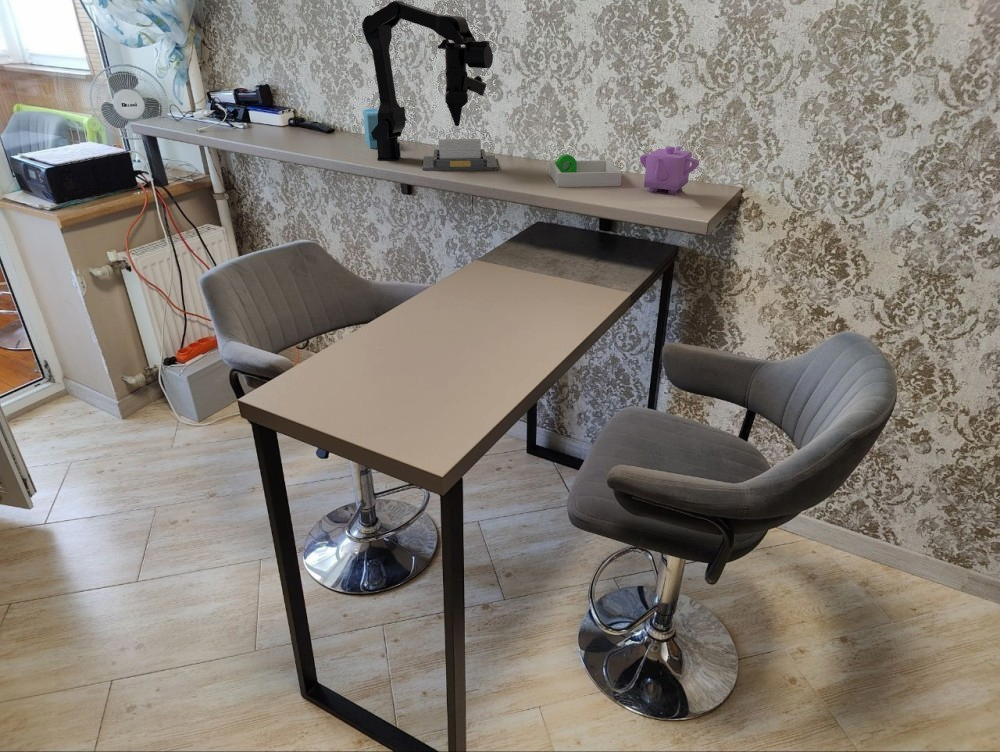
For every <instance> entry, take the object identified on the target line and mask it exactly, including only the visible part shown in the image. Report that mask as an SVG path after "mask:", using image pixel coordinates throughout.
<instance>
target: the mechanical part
mask: <svg viewBox="0 0 1000 752" xmlns="http://www.w3.org/2000/svg"><path fill="white" fill-rule="evenodd" d="M556 161H557V162H556V166H557V167H558V169H559V170H560V172H561V173H576V169H577V162H576V161H577V160H576V158H575V157H574V156H572V155H570V154H567V153H563V154H562V155H560V156H559V157H558V158H557V160H556ZM567 161H569V163H570V166H569V168H568V169H567V170H563V164H564V163H565V162H567Z"/></svg>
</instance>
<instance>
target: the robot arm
mask: <svg viewBox="0 0 1000 752" xmlns="http://www.w3.org/2000/svg"><path fill="white" fill-rule="evenodd" d="M363 18H364V19H363V20H362V23H361V29H362V32H363V35H364V38H365V41H366V42H367V43H366V44H367V45H368V46H369V48H370V50H371V52H372V58H373V65H374V72H375V78H376V84H377V90H378V97H379V105H378V106H379V107H378V109H377V110H378V124H377V126H376V127H375V128H374V129H373V131H372V132H371V135H372V137H373V139H374V140H377V148H376V149H377V160H376V161H399V159H400V158H401V154H402V153H401V142H399V138H400V137H401V136H402V133H403V130H404V128H406V122H407V121H408V119H407V117H406V108H405V106H400V104H399V103H398V101H397V96H396V89H395V81H394V76H393V67H392V62H391V55H390V54H391V53H390V46H391V43H392V38H393V35H392V34H393V33H392V31H393V29H394V27H396V26H397V25H398V23H399V22H400V21H401V20H404V21H407V22H410V23H413V24H416V25H419V26H423V27H425V28H427V29H430V30H431V31H433V32H435V33H436V34H437V35H438V36H440V37H442V38H443V40H442V41H441V43H440V44H439V45H437V49H438V50H444V54H445V55H444V56H445V84H446V85H445V86H446V87H445V94H444V95H445V97H444V101H445V103H446V105H447V108H448V110H449V114H450V116H451V117H452V121H453V123H454V126H455V127H460V122H461V118H462V117H461V116H462V111H463V107H465V105H466V104H468V103H469V94H468V92H469V91H471V92H473V93H476V94H477V95H479V96H481V97H483V96H484V94H485V91H486V87H487V83H485V81H484V82H483V79H482V77H481V76H479V75H476V76H475V77H474V78H473V77H470V76H468V71H467V66H468V67H469V68H472V69H490V68H491V67H492V65H493V62H494V53H493V49H492V47H491V46H490V41H489V40H481V41H479V40H478V41H477V40H476V38H475V37H474V35H473V34H472V31H471V30H470V26H469V23H468V22H467V19H466V18H465V17H463V16H458V15H448V14H447V15H446V14H438V13H436V12H432V11H430V10H427V9H423V8H420V7H418V6H414V5H411V4H408V3H406V2H404V1H402V0H392V1H390V2H389V3H388V4H386V5H385V6H383V7H382V8H381V9H379V10H377V11H375V12H374V13H372V14H369V15H366V16H365V17H363ZM451 41H452V42H451Z"/></svg>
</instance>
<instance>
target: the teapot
mask: <svg viewBox="0 0 1000 752" xmlns="http://www.w3.org/2000/svg"><path fill="white" fill-rule="evenodd" d="M692 153H693V152H692V151H691V150H690V151H688V150H682V146H681V145H679V146H676V147H675V146H665V147H664V148H658V149H656V150H654V151H652V152H650V153H644V154H641V155H640V157H639V161H640V163H641V165H642V166H643V168H645V169H644V170H645V172H644V173H645V174H644V182H643V187H644V188H648V192H651V193H656V192H657V191H658V190H668V191H667V192H668V194H669V195H678V191H682V190H683V187H684V186H686V185H687V184H688V183H689V176H690V173H692V172H693V171H695V170H696V169H697V168H698V167H699V165H700V161H699V160H698V159H697V158H694V157H692Z"/></svg>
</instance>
